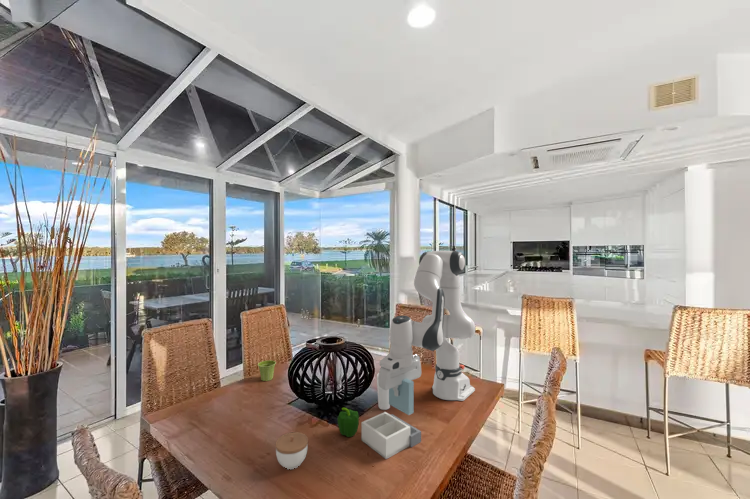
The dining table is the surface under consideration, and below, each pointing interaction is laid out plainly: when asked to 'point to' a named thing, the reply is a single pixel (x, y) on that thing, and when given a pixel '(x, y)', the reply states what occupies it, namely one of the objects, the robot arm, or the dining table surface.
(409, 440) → the cabinet
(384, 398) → the drinking glass
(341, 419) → the bell pepper
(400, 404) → the door
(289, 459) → the lidded jar
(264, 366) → the plant pot
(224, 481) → the dining table surface
